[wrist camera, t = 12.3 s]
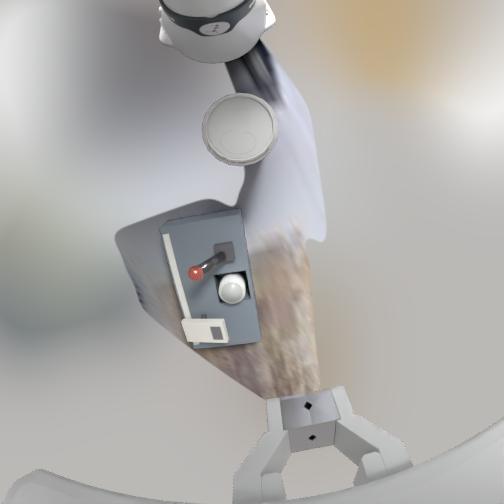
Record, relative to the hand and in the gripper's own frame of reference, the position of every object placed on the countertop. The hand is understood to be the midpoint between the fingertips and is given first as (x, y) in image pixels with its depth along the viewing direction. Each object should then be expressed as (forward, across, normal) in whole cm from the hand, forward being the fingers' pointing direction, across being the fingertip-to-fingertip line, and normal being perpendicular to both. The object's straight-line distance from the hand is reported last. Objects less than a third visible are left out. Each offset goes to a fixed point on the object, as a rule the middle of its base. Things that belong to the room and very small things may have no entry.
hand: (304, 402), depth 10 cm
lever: (+31, +6, +4) cm, 31 cm away
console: (+37, +9, +10) cm, 39 cm away
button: (+34, +6, +10) cm, 36 cm away
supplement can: (+37, +1, -12) cm, 39 cm away
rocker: (+30, +12, +16) cm, 36 cm away
